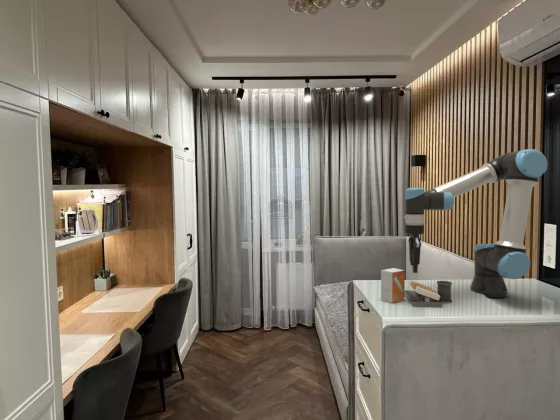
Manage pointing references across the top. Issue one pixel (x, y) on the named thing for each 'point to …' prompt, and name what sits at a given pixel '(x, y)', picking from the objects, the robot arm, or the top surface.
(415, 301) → the plate
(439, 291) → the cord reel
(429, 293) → the beige rectangular tile
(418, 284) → the paddle far
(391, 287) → the small box
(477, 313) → the top surface
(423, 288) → the paddle mid
